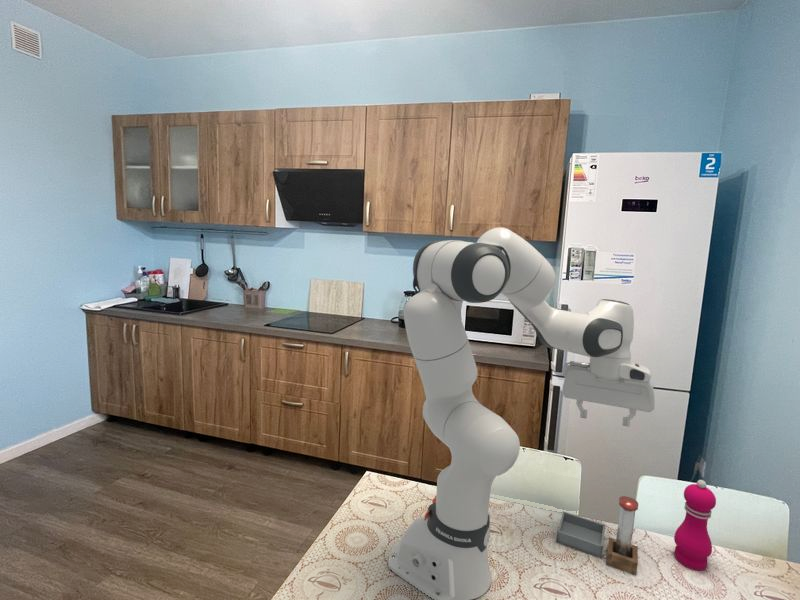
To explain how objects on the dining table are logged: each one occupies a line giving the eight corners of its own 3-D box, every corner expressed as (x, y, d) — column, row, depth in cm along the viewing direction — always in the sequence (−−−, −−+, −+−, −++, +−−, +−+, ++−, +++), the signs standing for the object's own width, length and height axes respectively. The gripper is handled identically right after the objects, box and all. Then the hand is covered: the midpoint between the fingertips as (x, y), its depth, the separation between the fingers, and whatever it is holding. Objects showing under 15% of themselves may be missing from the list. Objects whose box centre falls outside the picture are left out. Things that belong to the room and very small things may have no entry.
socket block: (606, 564, 96) (607, 552, 96) (607, 548, 101) (608, 537, 101) (636, 575, 93) (637, 563, 93) (636, 558, 99) (637, 546, 98)
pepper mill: (715, 575, 94) (729, 492, 91) (679, 569, 96) (691, 487, 93) (699, 552, 101) (711, 474, 98) (666, 546, 103) (677, 469, 100)
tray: (556, 542, 103) (557, 531, 102) (561, 521, 111) (562, 511, 110) (601, 558, 98) (603, 547, 98) (604, 535, 106) (605, 524, 105)
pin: (611, 563, 97) (618, 503, 94) (612, 553, 100) (619, 494, 98) (630, 570, 95) (638, 508, 93) (630, 559, 98) (638, 499, 96)
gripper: (562, 362, 105) (557, 416, 106) (658, 376, 96) (652, 435, 97) (565, 357, 110) (560, 409, 112) (656, 370, 101) (650, 426, 103)
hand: (604, 421), depth 104 cm, fingers open, 8 cm apart
